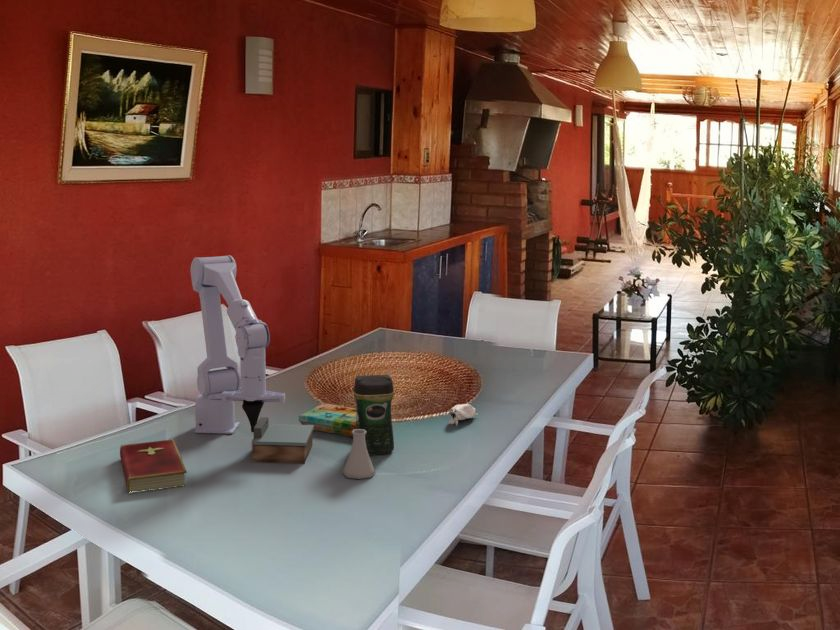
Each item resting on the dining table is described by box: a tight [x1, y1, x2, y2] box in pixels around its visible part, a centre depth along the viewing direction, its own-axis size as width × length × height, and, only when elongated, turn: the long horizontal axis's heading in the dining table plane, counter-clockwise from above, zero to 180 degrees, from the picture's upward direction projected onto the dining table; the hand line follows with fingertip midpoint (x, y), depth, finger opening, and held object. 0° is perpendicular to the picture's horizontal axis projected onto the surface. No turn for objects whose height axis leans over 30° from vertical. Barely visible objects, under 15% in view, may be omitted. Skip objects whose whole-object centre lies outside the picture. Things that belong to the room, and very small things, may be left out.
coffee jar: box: [353, 374, 395, 456], centre depth 204 cm, size 10×8×19 cm
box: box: [251, 433, 313, 465], centre depth 202 cm, size 12×12×4 cm
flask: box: [342, 429, 376, 480], centre depth 190 cm, size 7×7×10 cm
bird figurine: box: [447, 403, 479, 427], centre depth 228 cm, size 5×7×10 cm
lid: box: [251, 416, 314, 446], centre depth 201 cm, size 12×12×3 cm
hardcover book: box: [119, 439, 187, 493], centre depth 189 cm, size 12×21×4 cm, turn 23°
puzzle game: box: [298, 402, 356, 438], centre depth 221 cm, size 12×5×20 cm
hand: (254, 430), depth 202 cm, fingers closed
